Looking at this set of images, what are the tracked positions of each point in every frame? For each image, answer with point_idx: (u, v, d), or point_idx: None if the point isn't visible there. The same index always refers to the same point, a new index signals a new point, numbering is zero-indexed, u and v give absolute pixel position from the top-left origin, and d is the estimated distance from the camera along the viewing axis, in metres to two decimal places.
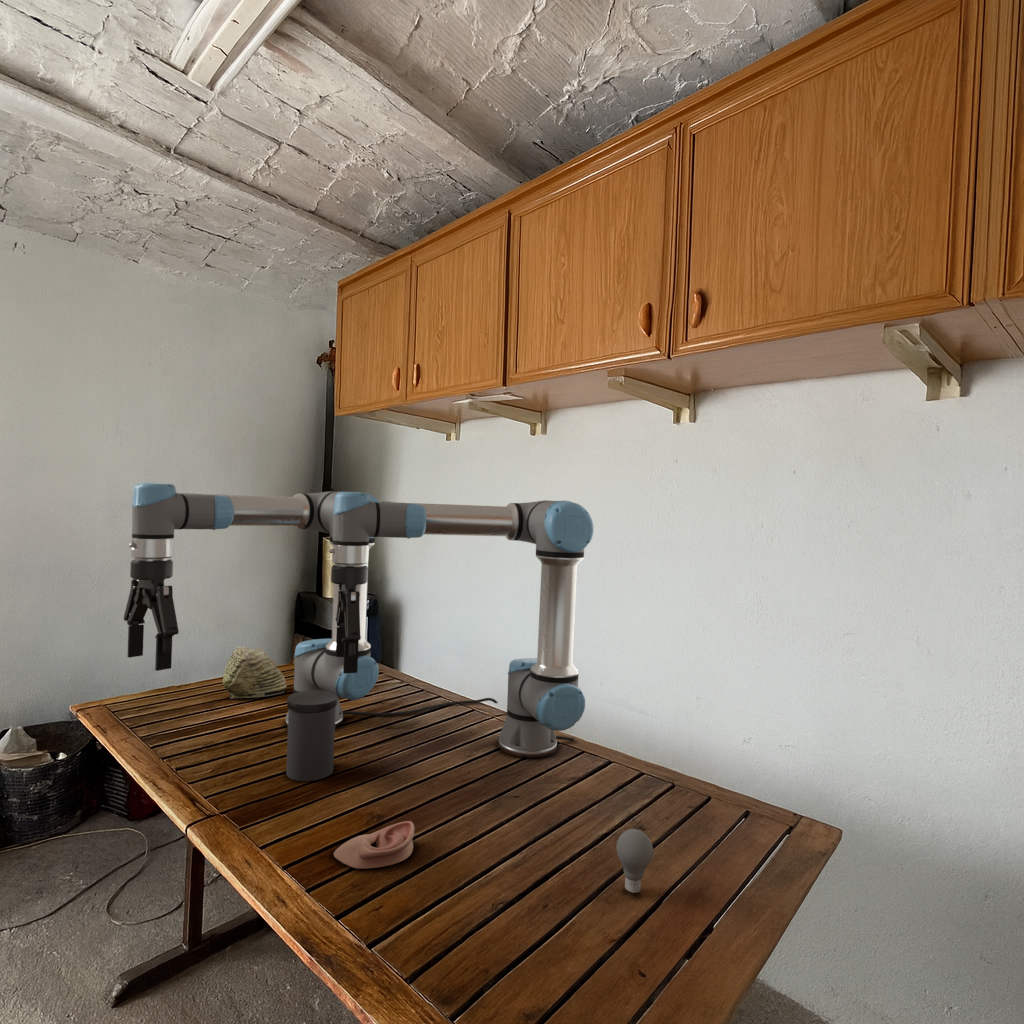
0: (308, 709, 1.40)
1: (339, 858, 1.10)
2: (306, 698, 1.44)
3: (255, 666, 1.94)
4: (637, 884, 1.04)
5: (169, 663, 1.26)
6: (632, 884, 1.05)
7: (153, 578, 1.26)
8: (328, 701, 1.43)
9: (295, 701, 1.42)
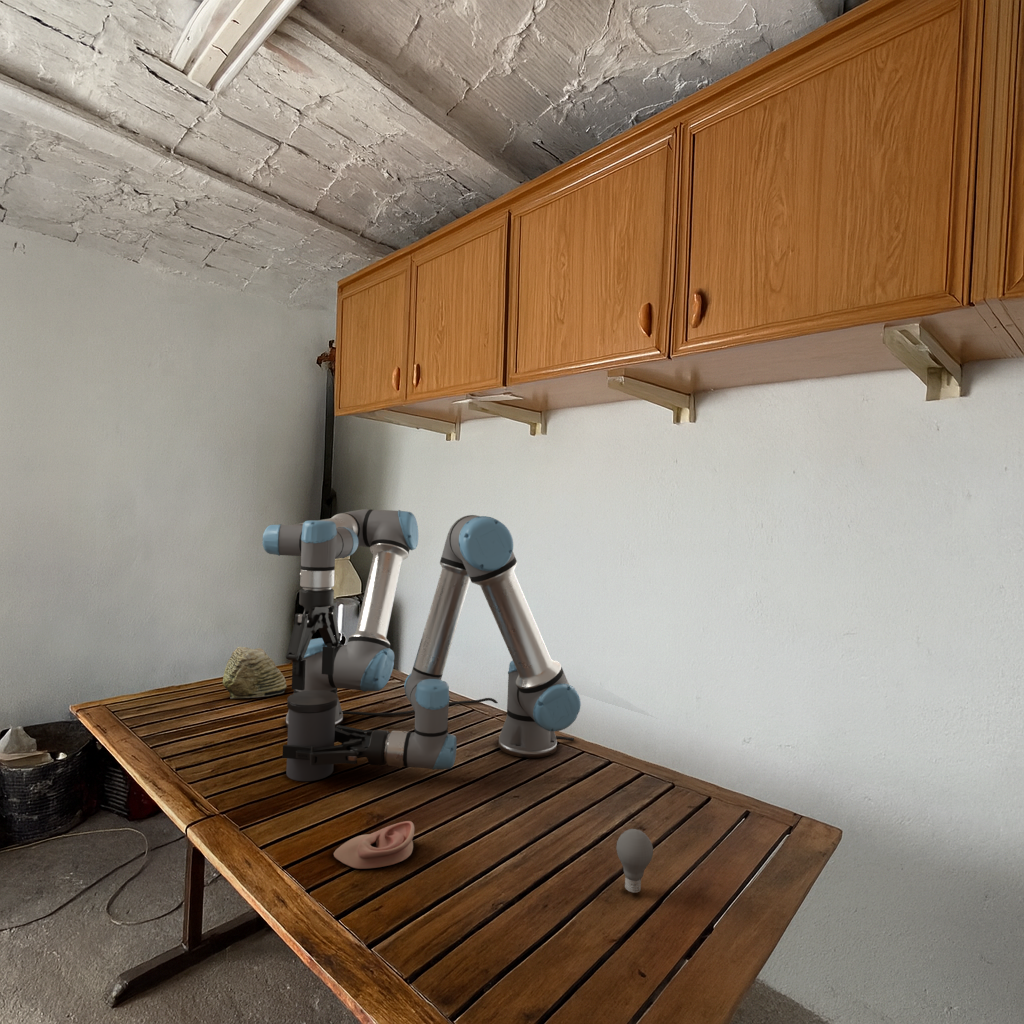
0: (308, 709, 1.40)
1: (339, 858, 1.10)
2: (306, 698, 1.44)
3: (255, 666, 1.94)
4: (637, 884, 1.04)
5: (301, 685, 1.38)
6: (632, 884, 1.05)
7: (303, 605, 1.42)
8: (328, 701, 1.43)
9: (295, 701, 1.42)
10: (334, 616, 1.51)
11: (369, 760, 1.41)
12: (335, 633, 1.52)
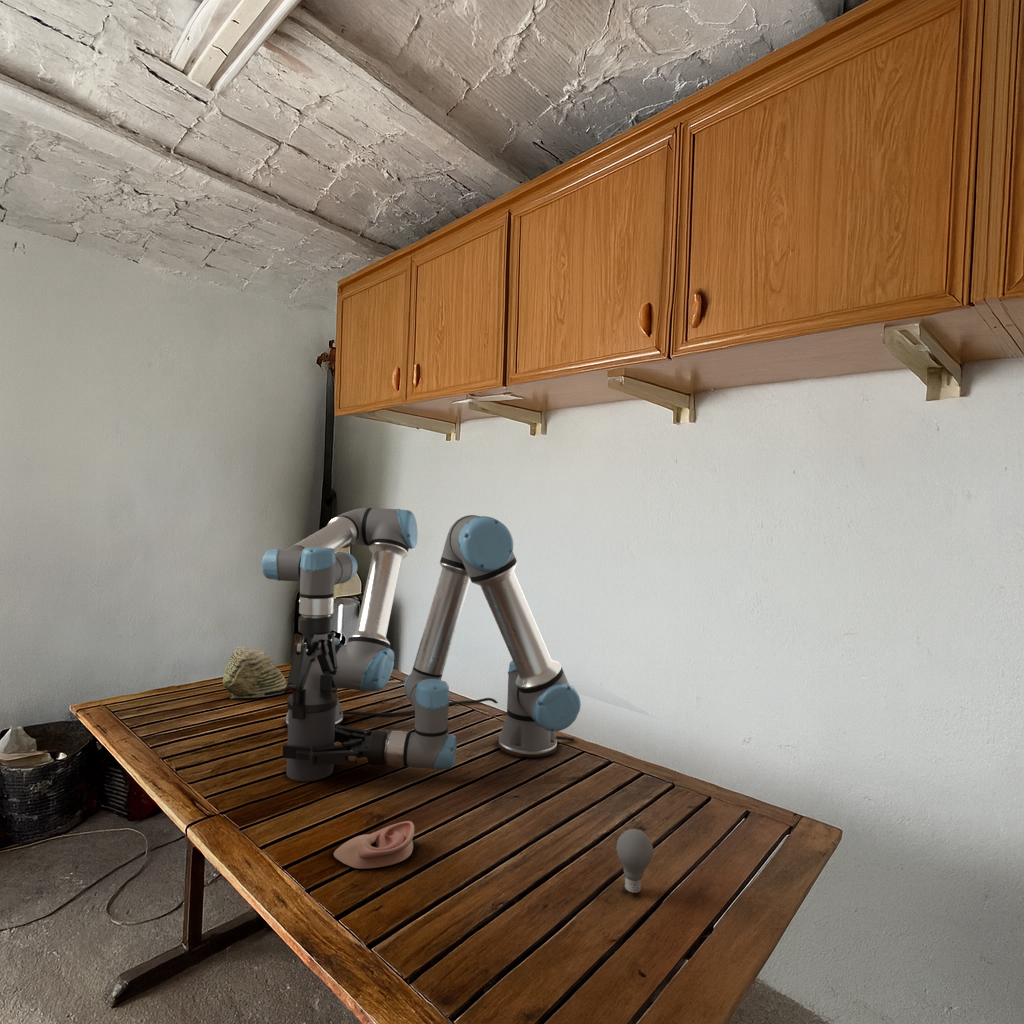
0: (308, 709, 1.40)
1: (339, 858, 1.10)
2: (306, 698, 1.44)
3: (255, 666, 1.94)
4: (637, 884, 1.04)
5: (301, 714, 1.39)
6: (632, 884, 1.05)
7: (302, 633, 1.42)
8: (328, 701, 1.43)
9: None
10: (333, 643, 1.51)
11: (369, 760, 1.41)
12: (333, 660, 1.52)
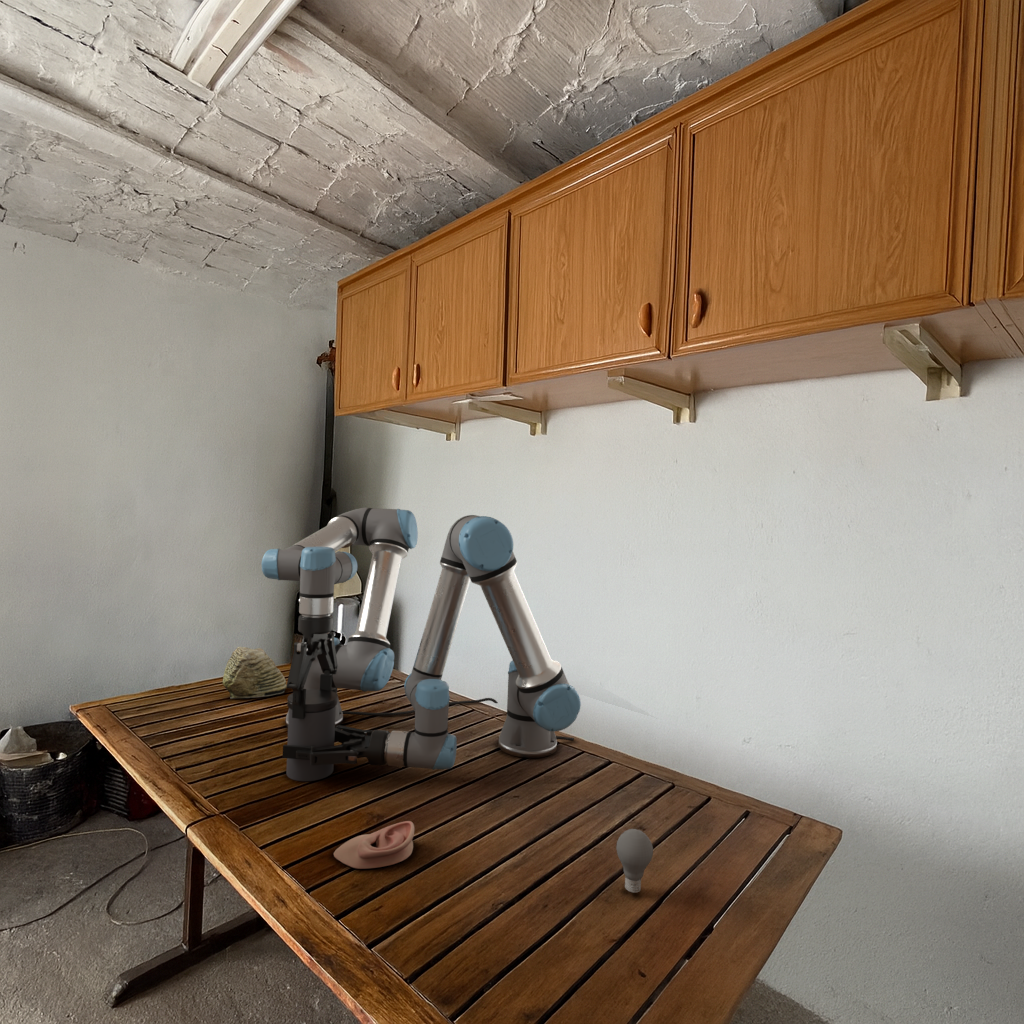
0: (333, 704, 1.44)
1: (339, 858, 1.10)
2: (312, 698, 1.44)
3: (255, 666, 1.94)
4: (637, 884, 1.04)
5: (301, 714, 1.39)
6: (632, 884, 1.05)
7: (302, 632, 1.42)
8: (334, 693, 1.48)
9: (313, 702, 1.41)
10: (333, 643, 1.51)
11: (369, 760, 1.41)
12: (333, 660, 1.52)
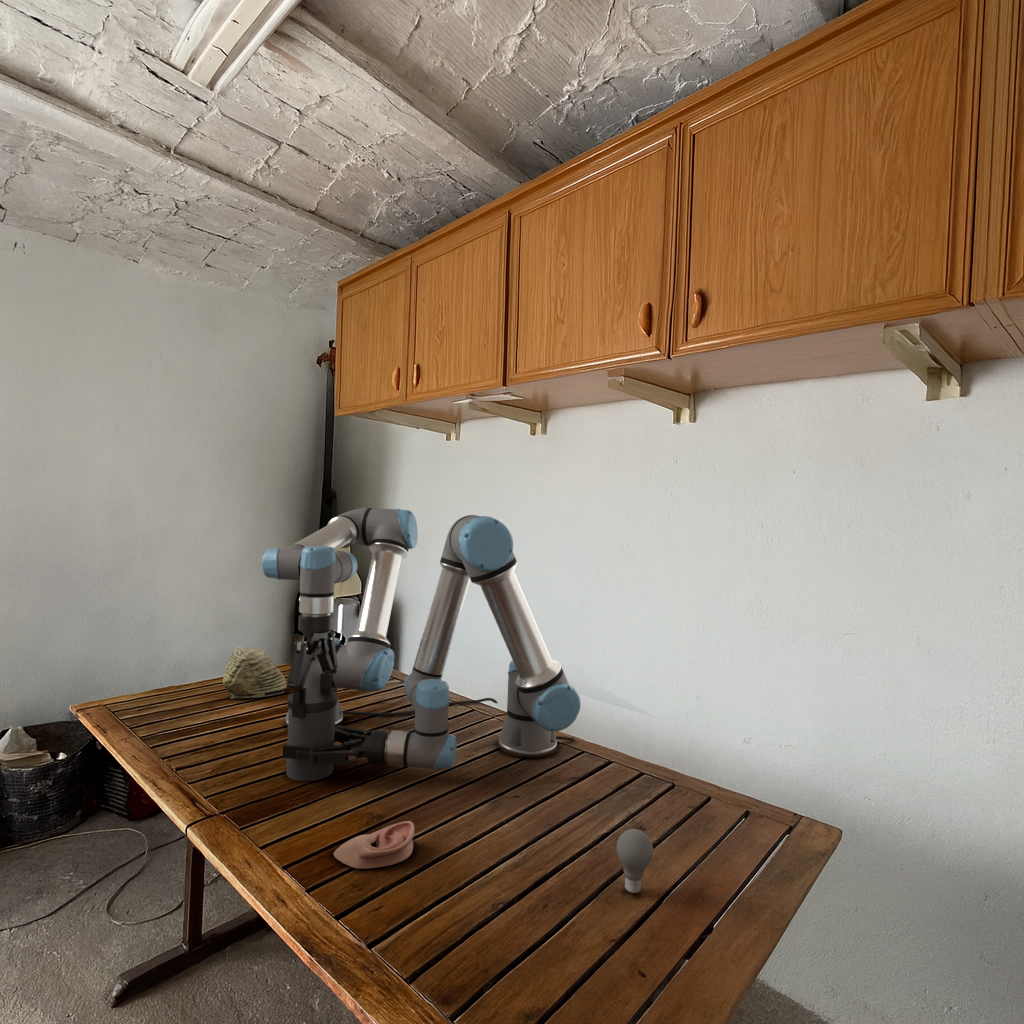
0: None
1: (339, 858, 1.10)
2: (319, 696, 1.45)
3: (255, 666, 1.94)
4: (637, 884, 1.04)
5: (301, 713, 1.39)
6: (632, 884, 1.05)
7: (302, 631, 1.42)
8: (317, 689, 1.50)
9: (330, 697, 1.45)
10: (333, 642, 1.51)
11: (369, 760, 1.41)
12: (333, 659, 1.52)
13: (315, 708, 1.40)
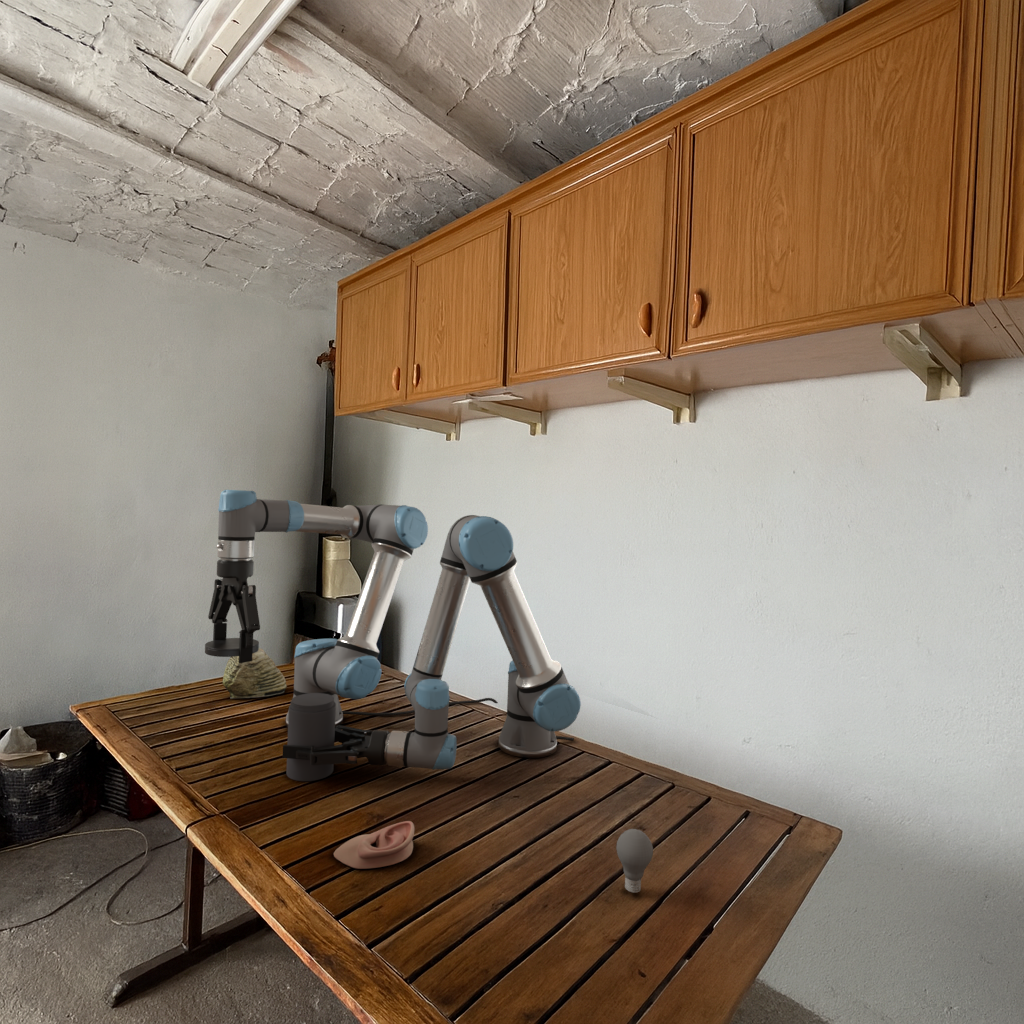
0: None
1: (339, 858, 1.10)
2: (238, 642, 1.43)
3: (255, 666, 1.94)
4: (637, 884, 1.04)
5: (250, 656, 1.38)
6: (632, 884, 1.05)
7: (238, 576, 1.38)
8: (215, 640, 1.43)
9: None
10: None
11: (369, 760, 1.41)
12: None
13: (256, 649, 1.41)
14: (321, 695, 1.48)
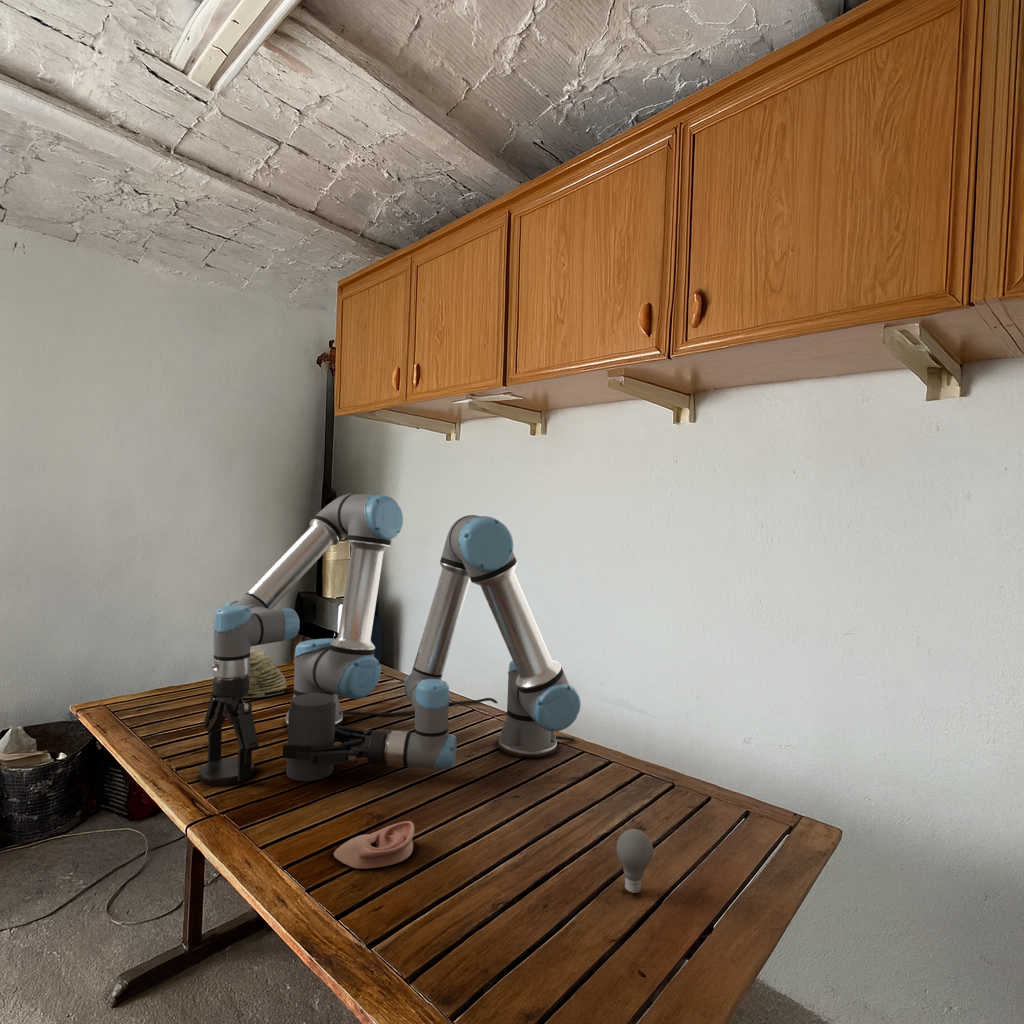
0: None
1: (339, 858, 1.10)
2: (233, 765, 1.43)
3: (255, 666, 1.94)
4: (637, 884, 1.04)
5: (249, 773, 1.39)
6: (632, 884, 1.05)
7: (234, 696, 1.39)
8: (209, 763, 1.44)
9: None
10: None
11: (369, 760, 1.41)
12: None
13: None
14: (321, 695, 1.48)
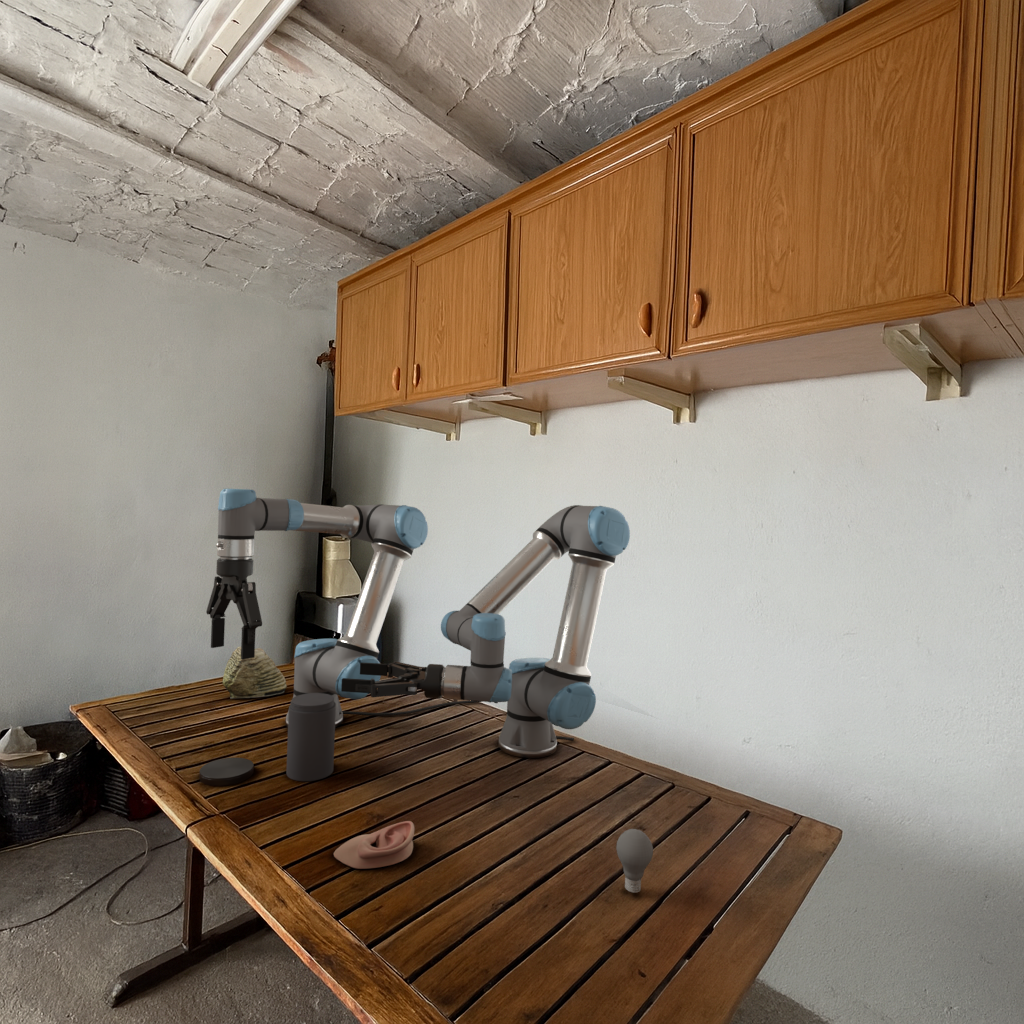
0: None
1: (339, 858, 1.10)
2: (233, 765, 1.43)
3: (255, 666, 1.94)
4: (637, 884, 1.04)
5: (253, 652, 1.38)
6: (632, 884, 1.05)
7: (238, 575, 1.38)
8: (209, 763, 1.44)
9: (244, 761, 1.46)
10: None
11: (426, 692, 1.40)
12: None
13: (250, 774, 1.42)
14: (321, 695, 1.48)
